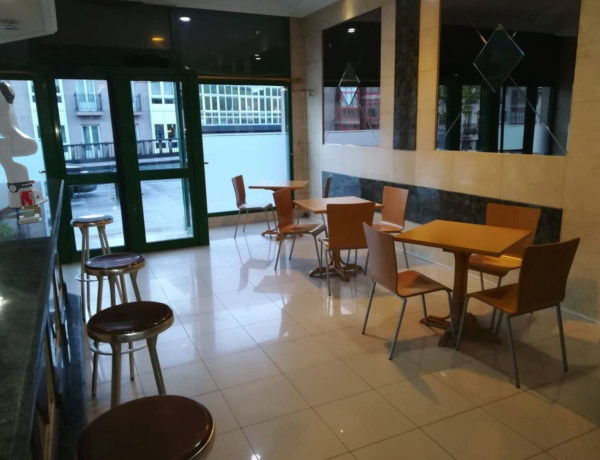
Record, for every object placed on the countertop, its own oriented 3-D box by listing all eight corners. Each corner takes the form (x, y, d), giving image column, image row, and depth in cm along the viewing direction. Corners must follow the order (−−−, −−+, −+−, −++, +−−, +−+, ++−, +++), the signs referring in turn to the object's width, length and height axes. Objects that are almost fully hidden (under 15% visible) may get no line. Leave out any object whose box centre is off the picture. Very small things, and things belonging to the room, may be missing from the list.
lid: (20, 220, 236) (18, 210, 234) (39, 217, 240) (37, 207, 238) (20, 223, 229) (18, 213, 227) (40, 220, 233) (38, 210, 231)
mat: (18, 220, 236) (18, 220, 236) (41, 217, 241) (40, 216, 241) (18, 224, 227) (18, 223, 227) (42, 221, 232) (42, 220, 232)
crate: (23, 216, 246) (21, 206, 245) (40, 213, 250) (39, 204, 249) (24, 218, 240) (22, 209, 238) (41, 216, 243) (40, 206, 242)
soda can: (30, 212, 253) (26, 190, 250) (19, 212, 255) (15, 191, 252) (40, 210, 260) (36, 188, 257) (29, 210, 262) (24, 188, 258)
